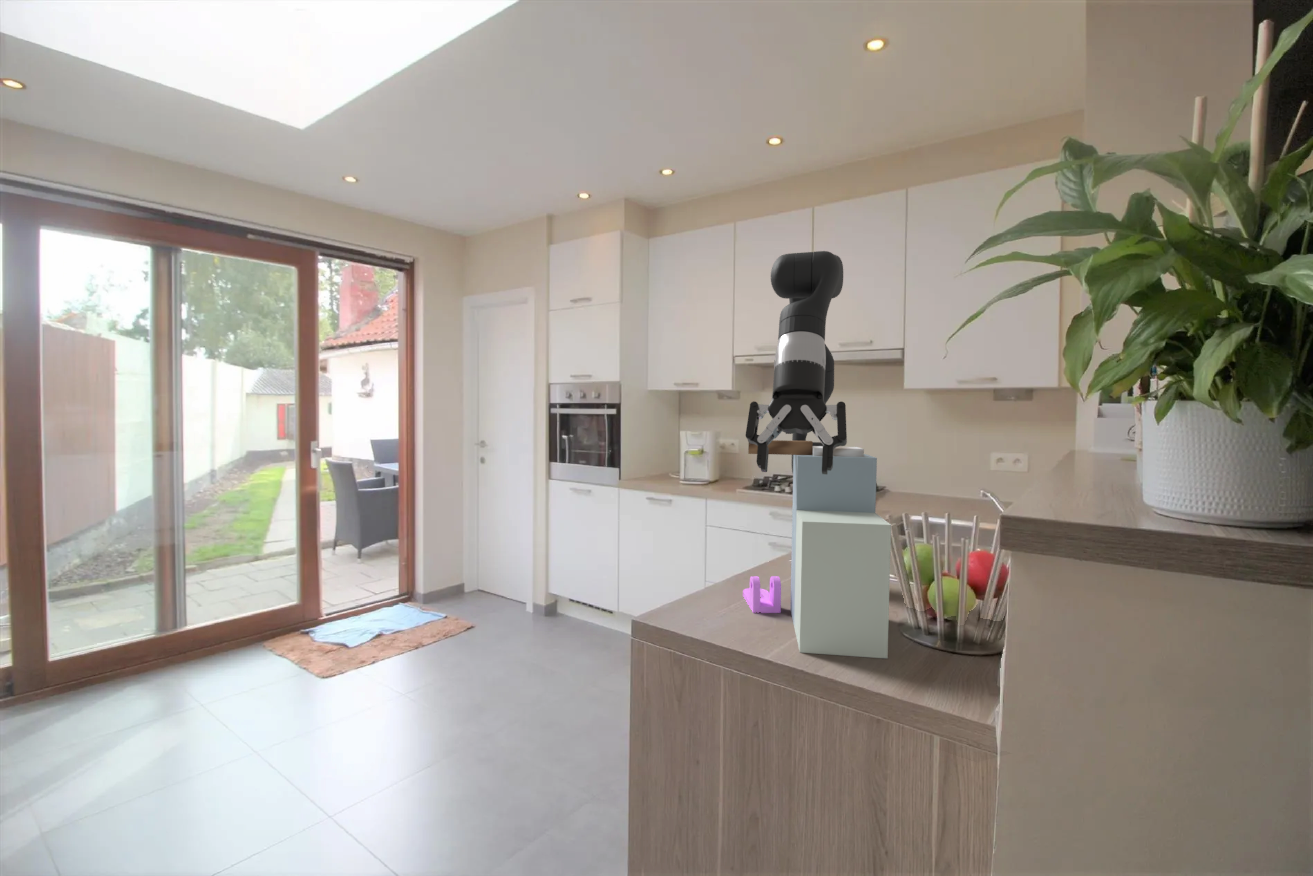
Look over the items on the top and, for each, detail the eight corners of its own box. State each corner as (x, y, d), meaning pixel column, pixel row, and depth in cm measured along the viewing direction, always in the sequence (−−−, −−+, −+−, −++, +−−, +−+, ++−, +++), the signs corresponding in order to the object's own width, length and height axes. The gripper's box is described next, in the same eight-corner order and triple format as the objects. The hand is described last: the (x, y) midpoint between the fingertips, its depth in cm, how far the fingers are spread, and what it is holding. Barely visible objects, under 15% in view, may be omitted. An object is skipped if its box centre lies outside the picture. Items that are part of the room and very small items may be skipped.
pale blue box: (799, 652, 99) (803, 461, 98) (790, 609, 121) (793, 452, 120) (887, 658, 97) (892, 463, 96) (861, 614, 119) (866, 454, 117)
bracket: (780, 613, 119) (781, 579, 119) (753, 613, 119) (753, 579, 118) (765, 594, 132) (765, 562, 132) (740, 594, 132) (741, 563, 131)
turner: (748, 454, 113) (748, 440, 112) (748, 452, 119) (748, 439, 119) (863, 457, 109) (864, 442, 109) (856, 454, 116) (857, 441, 116)
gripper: (849, 378, 91) (846, 481, 86) (756, 379, 96) (748, 476, 91) (848, 356, 84) (845, 466, 79) (748, 358, 89) (739, 462, 84)
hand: (793, 471), depth 85 cm, fingers open, 8 cm apart
